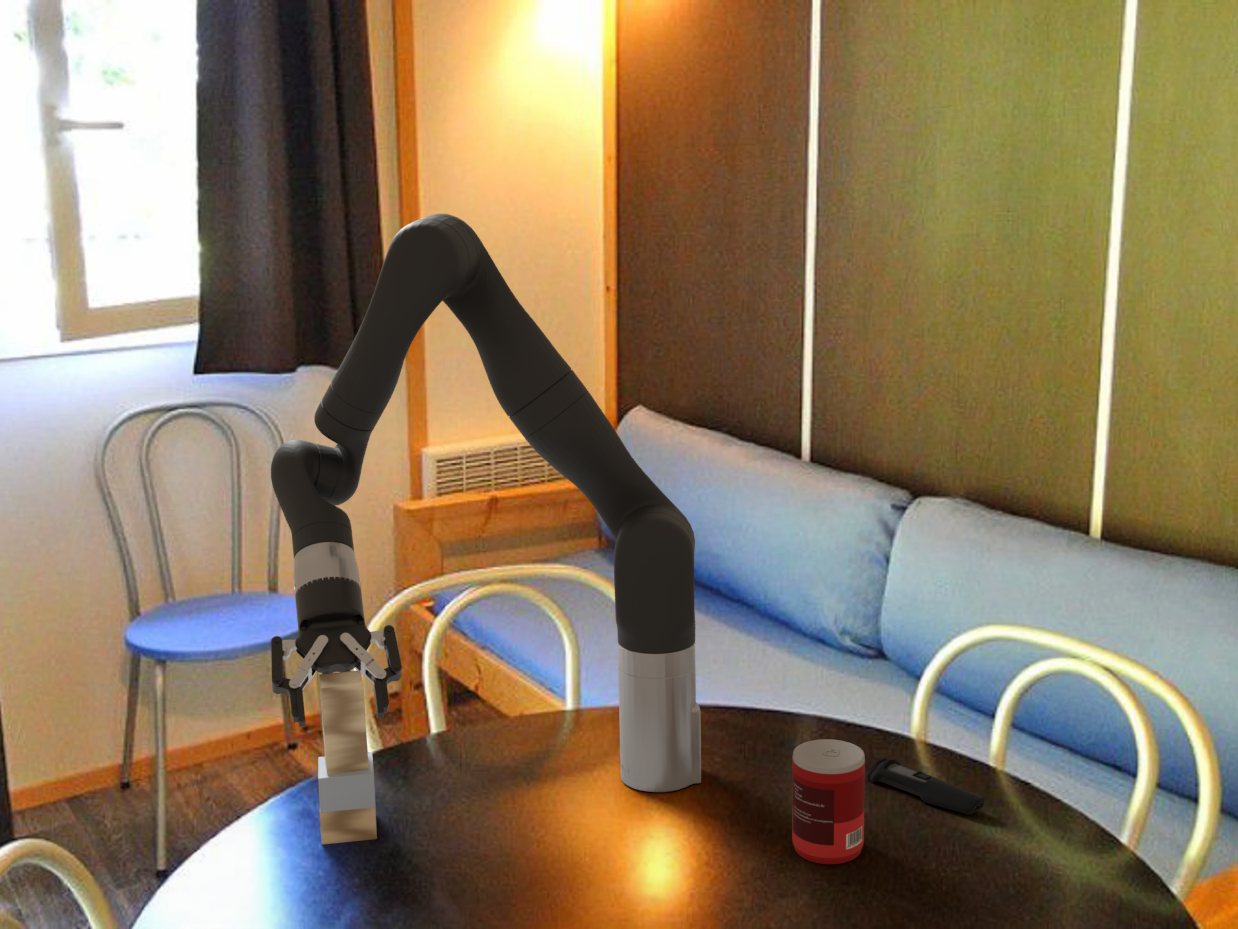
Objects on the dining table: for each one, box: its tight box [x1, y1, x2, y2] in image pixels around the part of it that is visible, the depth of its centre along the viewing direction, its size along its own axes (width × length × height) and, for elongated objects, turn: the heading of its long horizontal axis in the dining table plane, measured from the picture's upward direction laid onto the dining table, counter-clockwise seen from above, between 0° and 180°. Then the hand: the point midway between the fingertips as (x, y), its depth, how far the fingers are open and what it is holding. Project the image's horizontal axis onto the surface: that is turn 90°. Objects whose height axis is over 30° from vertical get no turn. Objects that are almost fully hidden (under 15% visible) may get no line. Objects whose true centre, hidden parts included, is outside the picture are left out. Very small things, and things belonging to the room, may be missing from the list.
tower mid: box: [317, 751, 377, 814], centre depth 159 cm, size 6×6×4 cm
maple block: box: [318, 670, 369, 775], centre depth 158 cm, size 4×4×10 cm
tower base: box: [319, 807, 378, 845], centre depth 160 cm, size 6×6×4 cm
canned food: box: [791, 738, 866, 865], centre depth 152 cm, size 8×8×11 cm
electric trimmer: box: [866, 757, 985, 815], centre depth 165 cm, size 4×16×3 cm, turn 39°
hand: (341, 719), depth 156 cm, fingers open, 8 cm apart
